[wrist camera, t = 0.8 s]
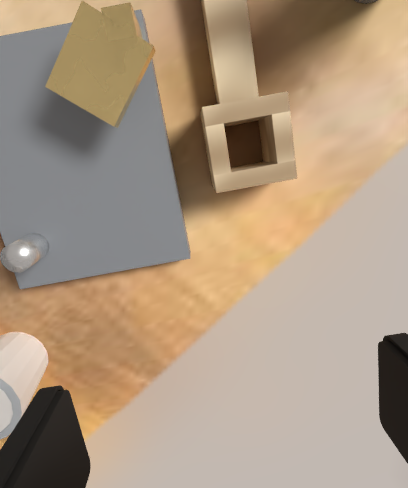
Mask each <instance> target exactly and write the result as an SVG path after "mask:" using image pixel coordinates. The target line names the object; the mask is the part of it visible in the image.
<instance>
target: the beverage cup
mask: <svg viewBox="0 0 408 488" xmlns="http://www.w3.org/2000/svg"><path fill="white" fill-rule="evenodd" d="M355 1H356V2H359V3H366V4H367V3H371V2H376V1H377V0H355Z"/></svg>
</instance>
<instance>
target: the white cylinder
mask: <svg viewBox="0 0 408 488" xmlns="http://www.w3.org/2000/svg"><path fill="white" fill-rule="evenodd" d="M47 365H48V354H47V351H46V349H45V348H44V346H43V344H42V343H41V342H40V341H39V340H37V339H36V338H35V337H34V336H32V335H29V334H26V333H23V332H9V333H6V334H4V335H1V336H0V439H3V438H5V437H7V436H8V435H9V434H10V433H12V431H13V430H14V428H15V426H16V425H17V423H18V422H19V420H20V419H21V417H22V416H23V414H24V412H25V411H26V409H27V407H28V405H29V403H30V401H31V398H32V396H33V394H34V392H35V390H36V388H37V386H38V384H39V382H40V380H41V378H42V376H43V374H44V372H45V370H46V367H47Z"/></svg>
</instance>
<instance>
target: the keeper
mask: <svg viewBox="0 0 408 488" xmlns="http://www.w3.org/2000/svg"><path fill="white" fill-rule="evenodd" d="M101 11H102V13H101V12H99V11H98V10H96V9H95V8H93V7H91V6H90V5H88V4H87V3H85V2H84V1H82V2H81V4H80V6H79V9H78V11H77V13H76V16H75V18H74V20H73V23H72V25H71V27H70V30H69V32H68V34H67V37H66V39H65V41H64V44H63V46H62V48H61V51H60V53H59V55H58V58H57V60H56V62H55V65H54V67H53V69H52V72H51V74H50V76H49V79H48V81H47V83H46V86H45V87H46V88H48V89H50V90H52V91H53V92H55V93H57V94H58V95H60V96H62V97H64V98H65V99H67V100H69V101H70V102H72V103H74V104H76V105H77V106H79V107H81V108H83V109H84V110H86V111H88V112H89V113H91V114H93V115H95V116H96V117H98V118H100V119H101V120H103V121H105V122H107V123H108V124H110V125H112V126H114V127H116V128H118V127H119V125H120V123H121V121H122V119H123V117H124V115H125V112H126V110H127V108H128V106H129V104H130V102H131V100H132V98H133V96H134V94H135V92H136V90H137V88H138V86H139V84H140V82H141V80H142V78H143V76H144V74H145V72H146V70H147V68H148V65H149V63H150V61H151V59H152V57H153V55H154V53H155V49H154V46H153V45H151V44H150V43H148V42H147V41H145V40H143V37H142V32H141V28H140V25H139V23H138V20H137V18H136V15H135V13H134V11H133V8H132V6H131V3H125V4H120V5H115V6H110V7H104V8H101Z"/></svg>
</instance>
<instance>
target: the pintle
mask: <svg viewBox="0 0 408 488" xmlns="http://www.w3.org/2000/svg"><path fill="white" fill-rule="evenodd" d="M48 251H49V243H48V241H47V239H46V238H45V237H44V236H43V235H41V234H38V233H31V234H28V235H26V236H25V237H23V238H21V239H19V240H17V241H15V242H13V243H11V244H9V245H7V246H5V247H4V248H3V249H2V251H1V254H0V260H1V262H2V264H3V266H4V267H5V268H6V269H8V270H9V271H12V272H23V271H25V270H26V269H28V268H29V267H30V266H32V265H33V264H35V263H36V262H37V261H39V260H40V259H41V258H43V257H44V256H46V255H47V253H48Z"/></svg>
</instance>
